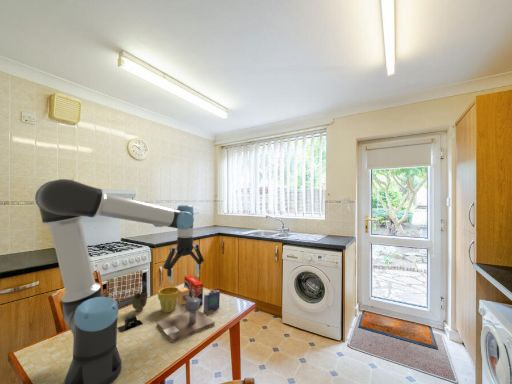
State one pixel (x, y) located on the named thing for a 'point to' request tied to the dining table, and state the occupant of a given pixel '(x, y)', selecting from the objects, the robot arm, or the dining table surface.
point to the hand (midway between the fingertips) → (184, 279)
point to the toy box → (194, 287)
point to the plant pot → (168, 298)
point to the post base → (184, 325)
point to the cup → (139, 301)
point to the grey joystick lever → (188, 300)
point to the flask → (211, 300)
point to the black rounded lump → (130, 325)
